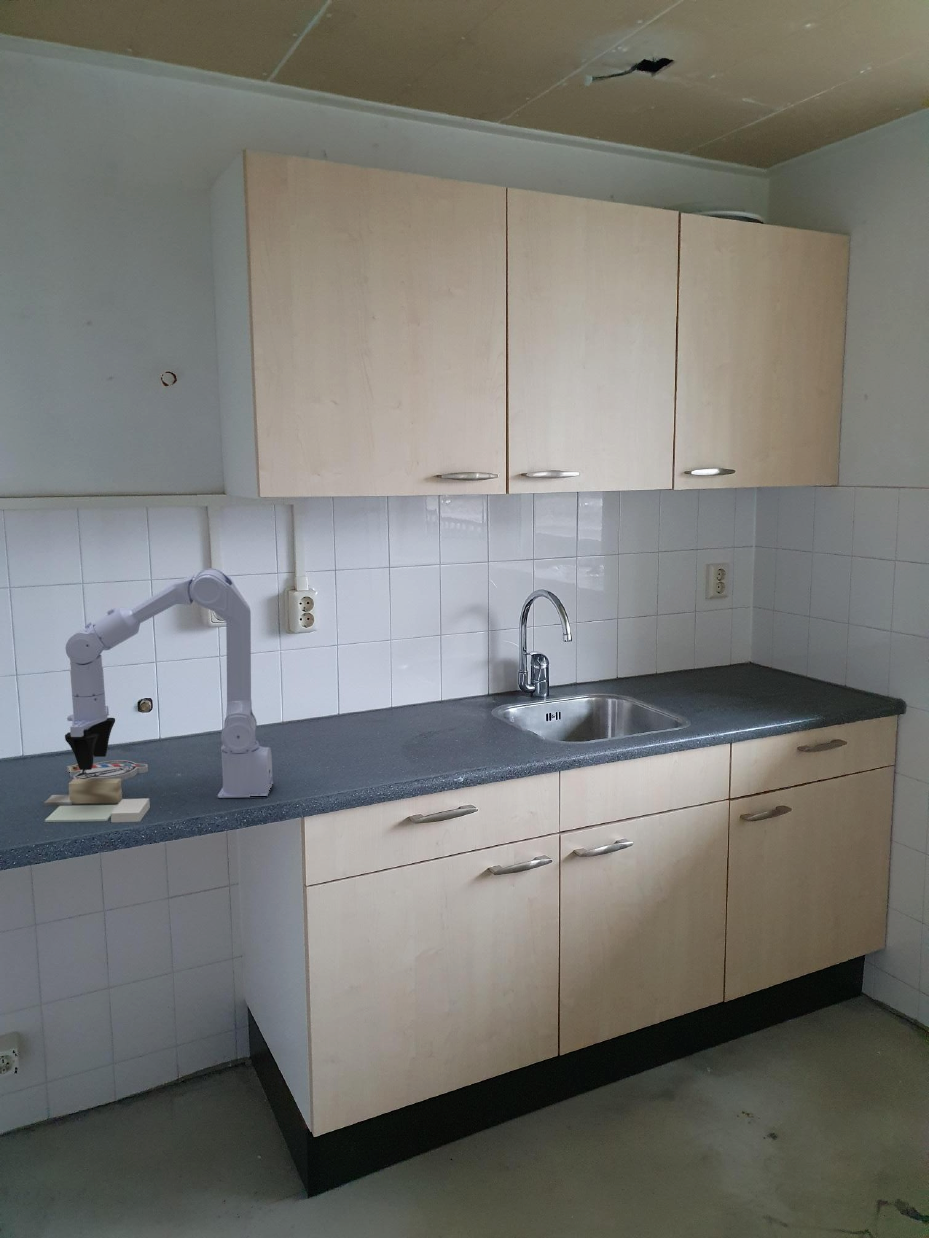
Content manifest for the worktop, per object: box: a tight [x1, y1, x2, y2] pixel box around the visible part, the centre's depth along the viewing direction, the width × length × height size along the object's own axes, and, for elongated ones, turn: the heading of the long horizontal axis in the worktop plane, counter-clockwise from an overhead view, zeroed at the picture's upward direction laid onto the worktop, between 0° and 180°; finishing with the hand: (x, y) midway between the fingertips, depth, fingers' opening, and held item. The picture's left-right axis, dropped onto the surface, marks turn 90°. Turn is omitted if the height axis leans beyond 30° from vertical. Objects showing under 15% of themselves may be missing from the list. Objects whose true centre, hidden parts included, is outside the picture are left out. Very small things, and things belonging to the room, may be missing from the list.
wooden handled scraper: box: [43, 779, 123, 806], centre depth 178 cm, size 14×4×4 cm, turn 92°
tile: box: [110, 798, 151, 823], centre depth 171 cm, size 5×2×7 cm
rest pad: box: [44, 804, 118, 823], centre depth 172 cm, size 11×7×1 cm, turn 92°
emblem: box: [66, 759, 149, 782], centre depth 194 cm, size 12×2×15 cm
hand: (93, 762), depth 177 cm, fingers open, 7 cm apart
